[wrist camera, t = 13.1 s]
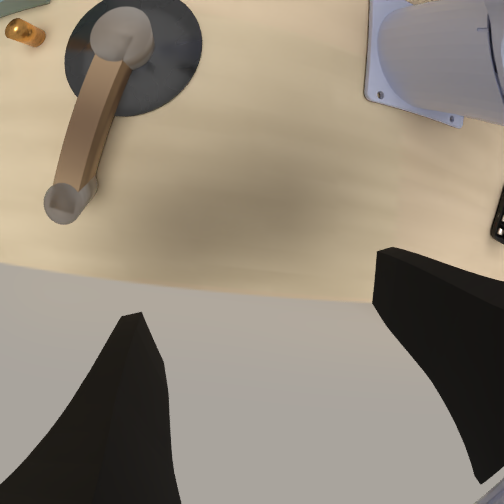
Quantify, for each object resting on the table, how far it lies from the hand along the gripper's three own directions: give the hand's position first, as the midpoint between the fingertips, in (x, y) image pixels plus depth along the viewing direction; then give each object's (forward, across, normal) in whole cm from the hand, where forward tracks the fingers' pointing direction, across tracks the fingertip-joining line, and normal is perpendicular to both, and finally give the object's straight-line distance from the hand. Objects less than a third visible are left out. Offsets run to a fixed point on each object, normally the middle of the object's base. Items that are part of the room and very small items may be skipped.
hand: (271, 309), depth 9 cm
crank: (+9, +3, -9) cm, 14 cm away
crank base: (+9, +3, -9) cm, 14 cm away
